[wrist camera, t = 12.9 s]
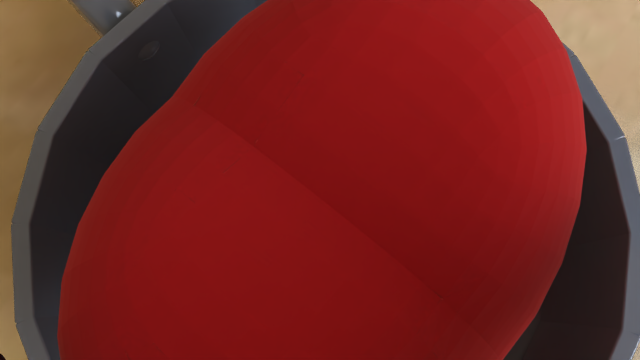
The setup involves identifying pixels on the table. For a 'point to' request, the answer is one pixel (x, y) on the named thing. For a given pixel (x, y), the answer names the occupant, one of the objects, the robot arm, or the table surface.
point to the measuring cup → (160, 85)
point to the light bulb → (338, 191)
